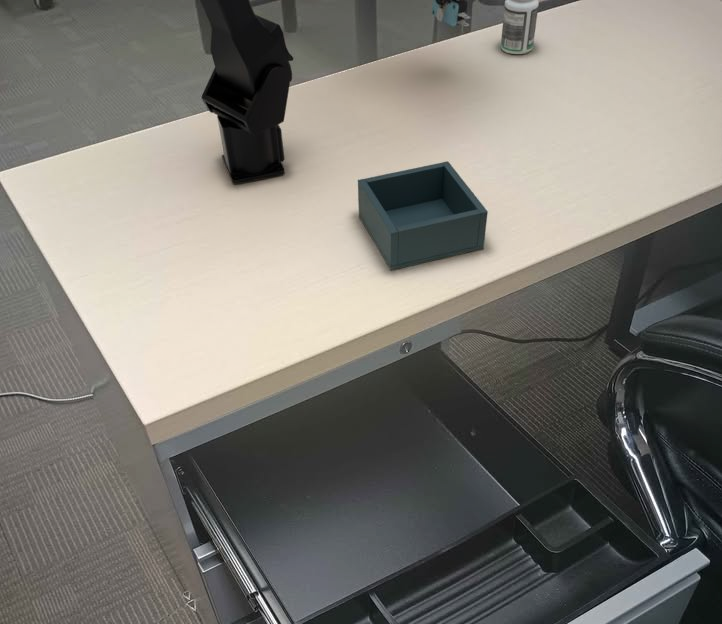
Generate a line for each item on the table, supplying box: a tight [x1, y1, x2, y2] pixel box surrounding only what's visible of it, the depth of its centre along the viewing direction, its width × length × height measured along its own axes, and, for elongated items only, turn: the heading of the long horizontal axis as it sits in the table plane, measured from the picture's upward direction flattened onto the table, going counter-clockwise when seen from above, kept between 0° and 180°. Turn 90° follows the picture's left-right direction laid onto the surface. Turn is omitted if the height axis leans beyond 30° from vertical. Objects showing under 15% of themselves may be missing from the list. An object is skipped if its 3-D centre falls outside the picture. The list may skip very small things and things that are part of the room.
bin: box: [357, 160, 489, 271], centre depth 82 cm, size 11×11×4 cm
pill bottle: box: [500, 0, 540, 55], centre depth 109 cm, size 5×5×8 cm
